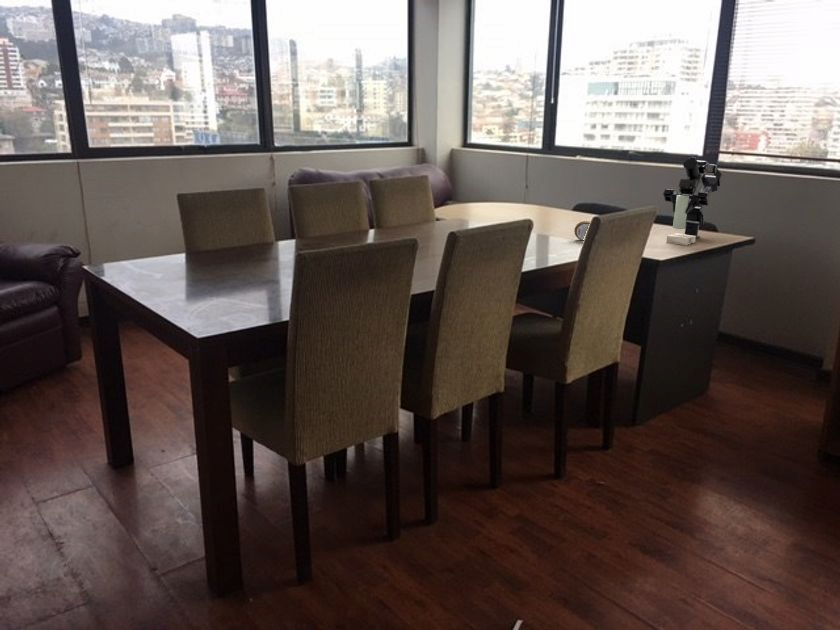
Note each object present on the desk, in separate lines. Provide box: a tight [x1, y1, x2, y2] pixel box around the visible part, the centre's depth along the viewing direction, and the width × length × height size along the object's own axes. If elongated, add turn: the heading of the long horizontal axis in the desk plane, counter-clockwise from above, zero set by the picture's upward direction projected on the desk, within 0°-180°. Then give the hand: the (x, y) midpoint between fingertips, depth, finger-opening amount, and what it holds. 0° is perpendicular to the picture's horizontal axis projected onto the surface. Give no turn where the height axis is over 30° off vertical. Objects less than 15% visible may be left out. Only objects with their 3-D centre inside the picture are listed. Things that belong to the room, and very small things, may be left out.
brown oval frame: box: [574, 220, 591, 241], centre depth 301 cm, size 15×3×8 cm, turn 84°
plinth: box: [666, 232, 697, 246], centre depth 303 cm, size 9×9×3 cm
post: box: [672, 195, 690, 230], centre depth 298 cm, size 5×5×14 cm
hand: (679, 212), depth 297 cm, fingers closed on post, 5 cm apart
